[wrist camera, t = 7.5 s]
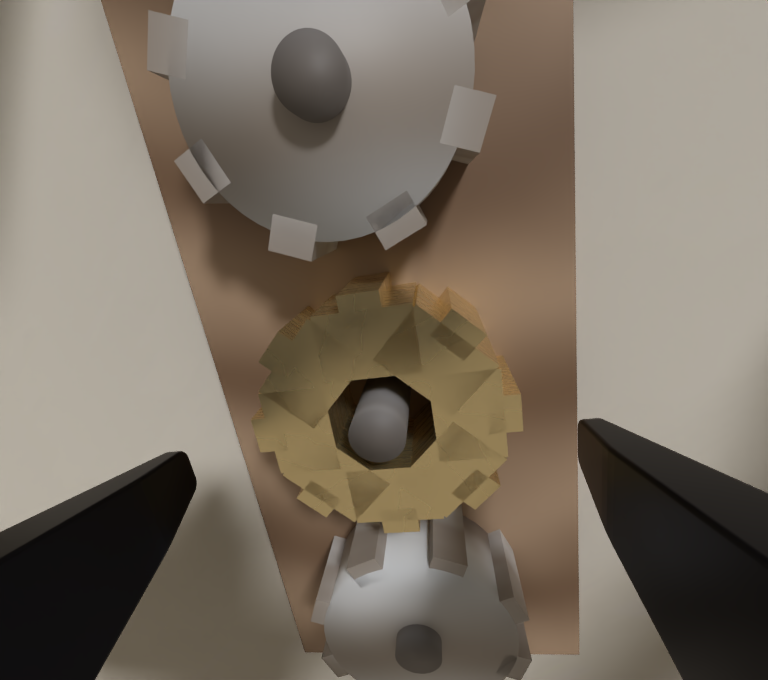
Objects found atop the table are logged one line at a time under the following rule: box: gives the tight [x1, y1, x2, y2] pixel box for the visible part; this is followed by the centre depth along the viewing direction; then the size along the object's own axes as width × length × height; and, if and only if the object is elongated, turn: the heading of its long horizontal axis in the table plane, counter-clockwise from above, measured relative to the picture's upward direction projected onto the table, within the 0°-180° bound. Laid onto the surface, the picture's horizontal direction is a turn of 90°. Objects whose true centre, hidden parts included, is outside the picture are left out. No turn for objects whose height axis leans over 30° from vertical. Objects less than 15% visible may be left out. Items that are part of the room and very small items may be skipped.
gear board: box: [101, 0, 579, 680], centre depth 11 cm, size 24×11×4 cm, turn 9°
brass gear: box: [251, 272, 523, 533], centre depth 11 cm, size 7×7×2 cm
